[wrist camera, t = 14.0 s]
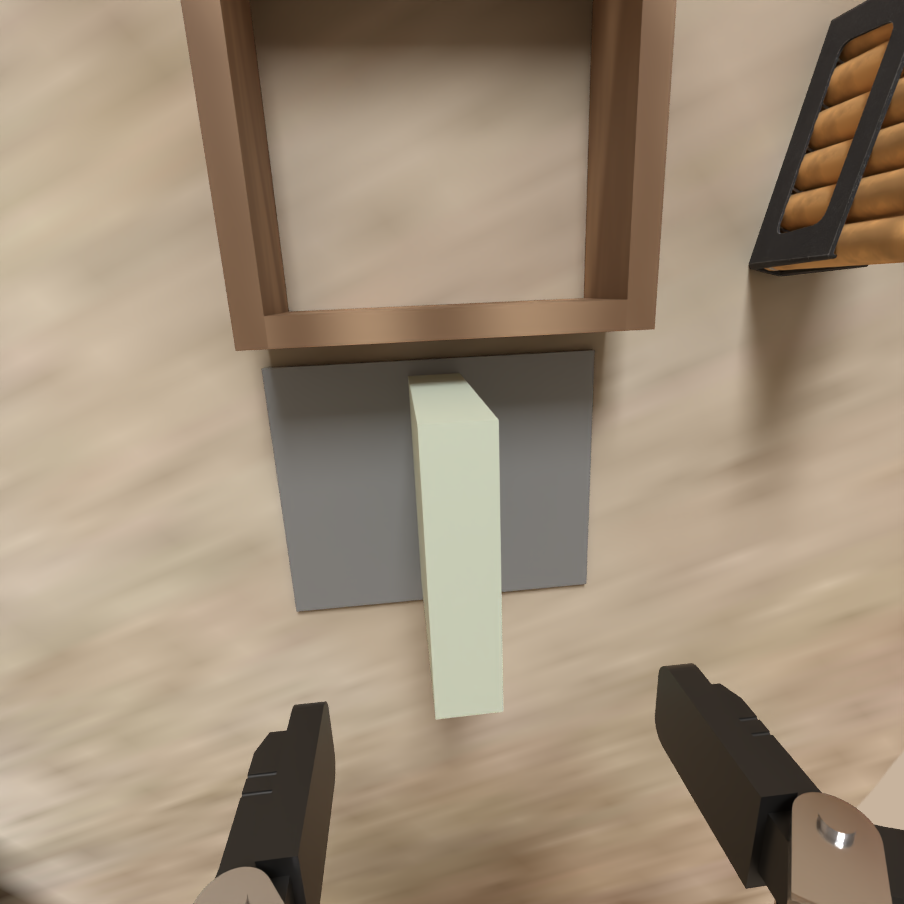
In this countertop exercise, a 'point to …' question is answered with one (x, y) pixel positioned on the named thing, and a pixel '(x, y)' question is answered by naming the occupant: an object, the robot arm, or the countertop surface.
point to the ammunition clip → (844, 154)
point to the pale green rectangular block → (459, 542)
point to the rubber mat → (393, 481)
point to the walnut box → (601, 310)
